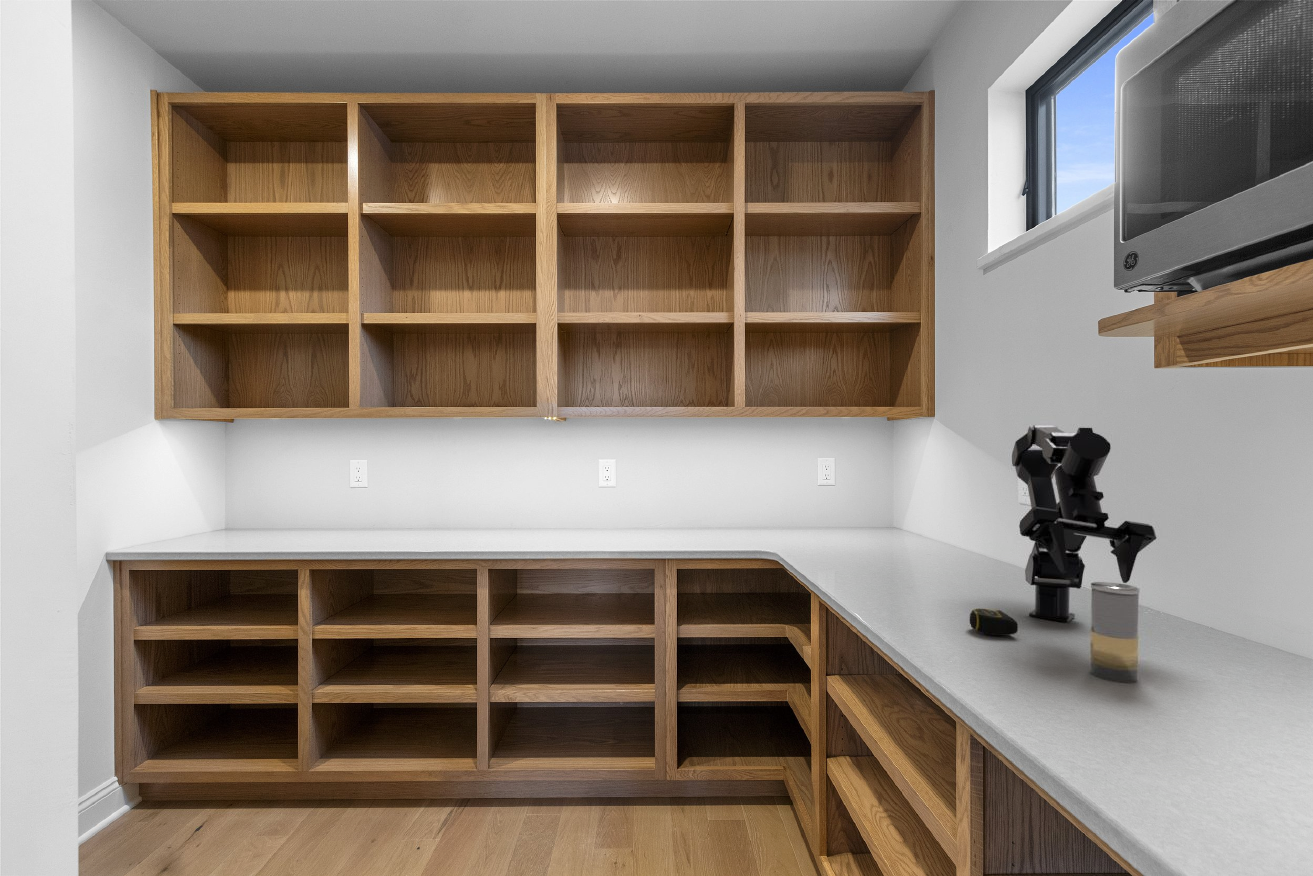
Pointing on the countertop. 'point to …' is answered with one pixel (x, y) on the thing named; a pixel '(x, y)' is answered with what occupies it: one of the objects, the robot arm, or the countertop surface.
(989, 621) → the tape measure
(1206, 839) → the countertop surface
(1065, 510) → the robot arm
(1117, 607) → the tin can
